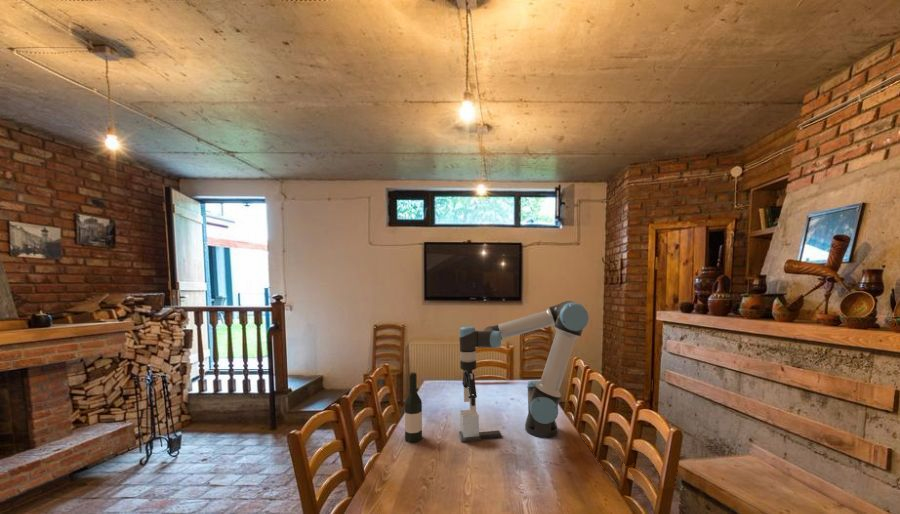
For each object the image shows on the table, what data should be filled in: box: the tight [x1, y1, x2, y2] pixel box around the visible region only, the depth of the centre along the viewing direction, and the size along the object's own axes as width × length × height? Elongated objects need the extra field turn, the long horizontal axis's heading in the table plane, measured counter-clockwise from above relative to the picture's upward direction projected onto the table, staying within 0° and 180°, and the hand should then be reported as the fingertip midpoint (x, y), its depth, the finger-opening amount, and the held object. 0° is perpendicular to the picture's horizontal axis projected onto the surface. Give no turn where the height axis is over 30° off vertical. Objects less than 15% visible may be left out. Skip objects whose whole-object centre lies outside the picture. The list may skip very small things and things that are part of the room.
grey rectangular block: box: [459, 409, 480, 437], centre depth 151 cm, size 7×7×9 cm
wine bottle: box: [404, 371, 423, 444], centre depth 153 cm, size 8×8×30 cm
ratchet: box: [458, 429, 502, 443], centre depth 151 cm, size 19×5×6 cm, turn 99°
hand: (469, 406), depth 151 cm, fingers open, 13 cm apart
